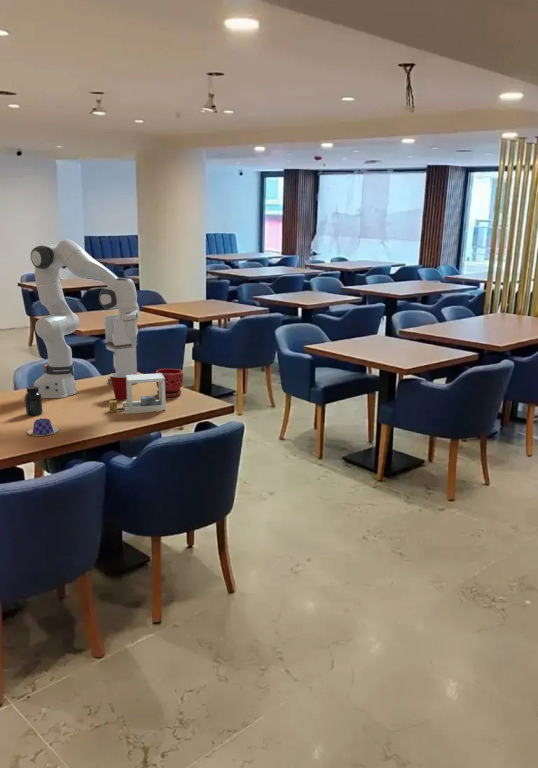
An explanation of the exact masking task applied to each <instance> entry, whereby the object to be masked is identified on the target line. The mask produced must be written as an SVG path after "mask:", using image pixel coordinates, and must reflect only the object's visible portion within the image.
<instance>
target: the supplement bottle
mask: <svg viewBox="0 0 538 768" xmlns="http://www.w3.org/2000/svg"><path fill="white" fill-rule="evenodd" d="M38 391H39V390H38V387H37V386H34V385H33V386H28V387H26V394H25V395H24V401H25V402H24V403H25V411H26V412H25V413H26V415H27V416H29V415H30V416H29V417H35V416H36V415H37V416H40V414H41V415H42V414H43V402H42V401H43V398H41V394H40V393H39V392H38Z"/></svg>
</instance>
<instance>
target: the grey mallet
mask: <svg viewBox="0 0 538 768" xmlns="http://www.w3.org/2000/svg"><path fill="white" fill-rule="evenodd" d="M156 400H157V398H156V397H155V395H144V396H140V401H141V406H152V405H156ZM118 411H124V408H123V407H119V408H118V400H117V399H115V400H109V413H118Z"/></svg>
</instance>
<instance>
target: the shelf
mask: <svg viewBox="0 0 538 768" xmlns="http://www.w3.org/2000/svg"><path fill="white" fill-rule="evenodd" d="M156 382H159V389H158V390H159V394H158V399H156V405H152V406H141V400H139V401H133V387H132V386H133V385H134V384H133V383H137V384H145V383H156ZM126 389H127V399H126V401H123V402H122V408H124V410H123V411H124V414H126V415H128V414H141V413H142V412H143V413H151V412H150V411H156V412H163V411H162V410H167V408H166V407H167V406H166V397H165V378H164V376H163V375H162V373H156V372H155V373H144V374H143V373H141V374H140V373H138V374H137V375H126ZM143 413H142V414H143Z"/></svg>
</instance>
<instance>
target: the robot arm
mask: <svg viewBox="0 0 538 768" xmlns="http://www.w3.org/2000/svg"><path fill="white" fill-rule="evenodd" d="M30 261H31V264H32V265H33V267H34V278H35V285H36V286H35V287H36V289H37V293H38V298H39V302H40V303H41V305H42V306H44V307H45V308H46V309H47V311H48V313H49V314H48V315H44V316H42V317H41V318H39V319H38V320H37V321H36V322H35V325H34V329H35V332H36V334H37V336H38V337H39V338H40V339H41V340H42V341H43V343H44V345H45V347H46V351H47V362H48V363H47V364H44V365H43V369H44V373H43V374H42V375H41V376H40V377H38V378H37V379H36V380H35V381H34V383H33V386H37V387H38V390H39V391H38V392H39V393H40V394H41V398H42V399H63V398H64V399H65V398H67V397H69V395H70V396H74V395H76V394H77V393H78V389H77V386H76V382H75V376H74V375H75V367H74V363H73V357H72V356H73V353H72V352H73V351H72V348H71V347H70V345H68V343H67V342H66V340H65V336H66V335H71V334H73V333H74V332H76V330H78V329H79V326H80V317H78V315H77V314H76V313H74V311H72V309H71V308H70V307H69V305H68V303H67V301H66V298H65V295H64V292H63V287H62V283H61V278H60V273H59V271H60V269H67V270H69V271H70V272H71V273H72V274H73V275H74V276H75V277H78V278H81V279H90V280H95V281H99V282H102V283H103V284H104V285H106V286H107V287H105V288H102V289H101V290H100V291H99V295H98V301H99V304H100V305H101V306H102V307H101V308H104V309H105V310H116V309H117V310H118V314H119V316H120V320H122V321H123V323H124V327H125V331H126V334H127V337H128V338H130V341H131V344H132V348H135V347H136V348H137V346H138V334H139V329H138V324H137V323H138V322H139V319H140V318H141V312H140V311H141V310H140V306H139V304H138V293H137V288H136V285H135V282H134V280H133V279H132V278H130V277H118V275H116V274H115V273H114V272H113V271H111V270H110V269H109V268H108V267H107V266H105V265H104V264H102V262H101V263H100V262H99V261H97V259H95V258H93V256H91V255H90V254H89V252H87V251H86V250H85V249H84V248H83V247H81V246H80V245H79V244H78V243H77V242H75V241H74V240H72V239H69V238H65V239H62V240H61V241H59V242H55V243H53V242H52V243H50V244H43V245H38V246H36V247H33V249H31V252H30ZM73 394H74V395H73Z"/></svg>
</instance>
